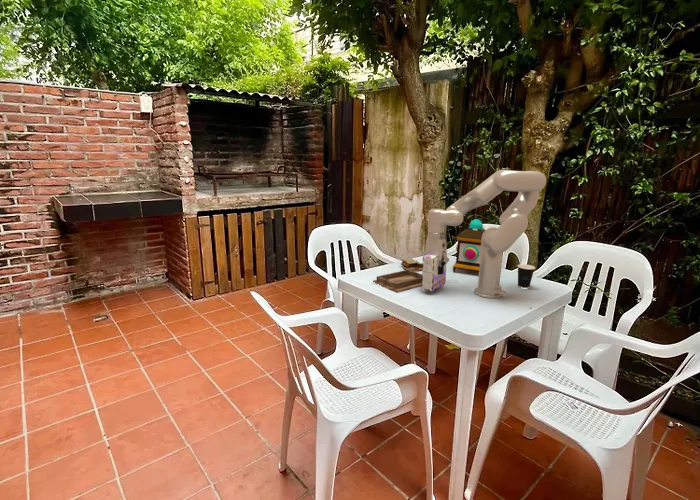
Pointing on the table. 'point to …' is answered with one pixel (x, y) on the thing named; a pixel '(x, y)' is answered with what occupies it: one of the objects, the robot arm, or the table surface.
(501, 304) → the table surface
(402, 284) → the tray
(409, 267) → the toy sandwich meal
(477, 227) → the decorative lantern
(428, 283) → the candy box
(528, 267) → the dixie cup
